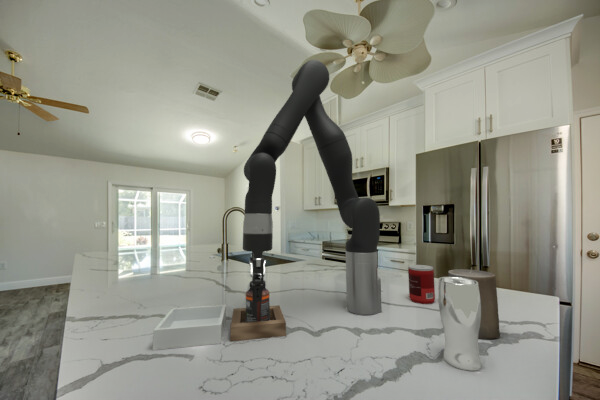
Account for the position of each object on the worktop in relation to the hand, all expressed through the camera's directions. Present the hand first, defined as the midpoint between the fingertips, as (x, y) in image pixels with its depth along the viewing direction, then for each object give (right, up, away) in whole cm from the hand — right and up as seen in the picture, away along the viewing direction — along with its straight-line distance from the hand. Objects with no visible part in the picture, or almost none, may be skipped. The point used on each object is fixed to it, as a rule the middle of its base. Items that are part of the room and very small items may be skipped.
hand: (256, 296), depth 65 cm
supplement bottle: (0, -8, -1) cm, 8 cm away
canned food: (+51, -9, +20) cm, 56 cm away
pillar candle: (+53, -7, -3) cm, 54 cm away
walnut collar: (0, -8, -1) cm, 8 cm away
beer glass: (+41, -6, -17) cm, 45 cm away
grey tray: (-14, -7, -4) cm, 16 cm away
